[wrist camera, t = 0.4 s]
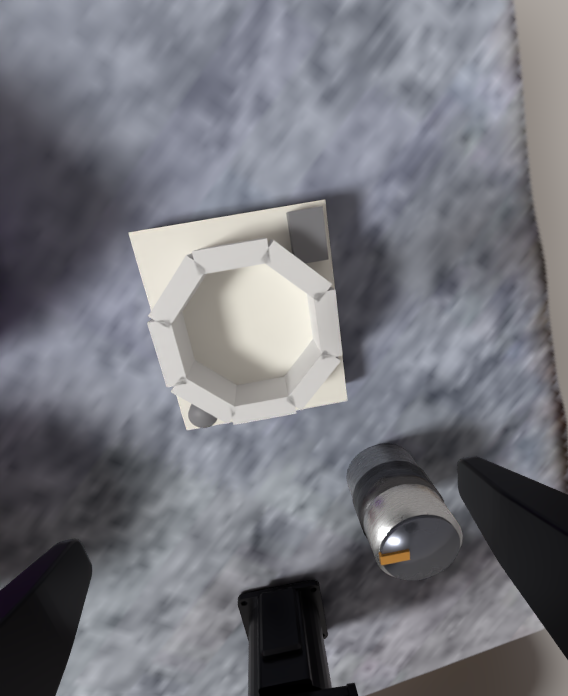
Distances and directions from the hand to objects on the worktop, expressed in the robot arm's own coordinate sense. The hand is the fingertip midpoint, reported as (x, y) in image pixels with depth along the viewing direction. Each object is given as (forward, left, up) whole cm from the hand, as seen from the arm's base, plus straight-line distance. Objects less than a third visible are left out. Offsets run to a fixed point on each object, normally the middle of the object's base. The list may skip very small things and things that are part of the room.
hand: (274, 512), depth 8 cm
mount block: (+2, 0, -13) cm, 13 cm away
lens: (-11, -7, -13) cm, 19 cm away
